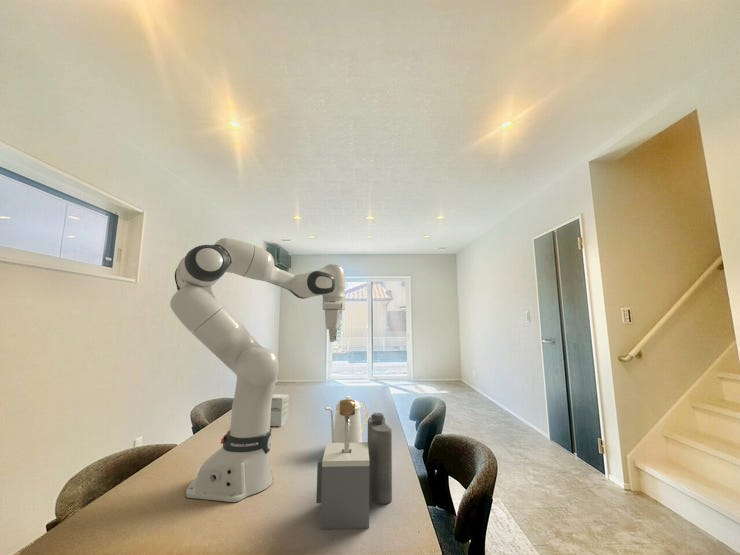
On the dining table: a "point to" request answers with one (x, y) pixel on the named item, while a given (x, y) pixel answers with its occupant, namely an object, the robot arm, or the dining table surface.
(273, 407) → the supplement box
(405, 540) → the dining table surface
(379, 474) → the flask
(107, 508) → the dining table surface
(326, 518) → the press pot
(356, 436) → the coffeepot
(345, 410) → the plunger
